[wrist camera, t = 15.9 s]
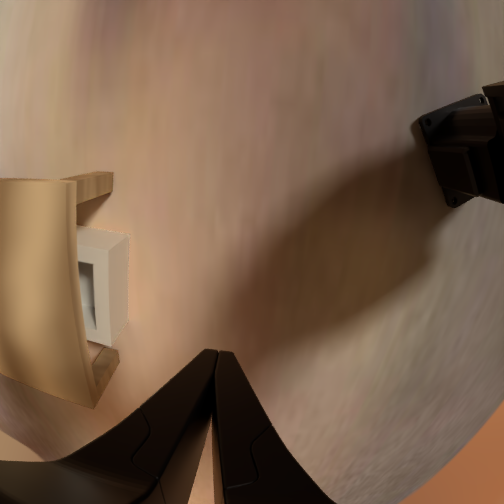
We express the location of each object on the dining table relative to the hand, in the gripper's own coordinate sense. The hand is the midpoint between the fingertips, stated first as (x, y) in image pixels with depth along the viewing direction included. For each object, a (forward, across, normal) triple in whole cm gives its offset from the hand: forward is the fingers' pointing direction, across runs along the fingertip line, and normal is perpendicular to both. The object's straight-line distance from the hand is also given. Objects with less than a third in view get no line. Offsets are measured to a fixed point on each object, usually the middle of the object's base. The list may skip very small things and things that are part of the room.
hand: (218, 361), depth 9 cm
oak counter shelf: (+11, +14, +3) cm, 18 cm away
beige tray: (+11, +12, +3) cm, 17 cm away
